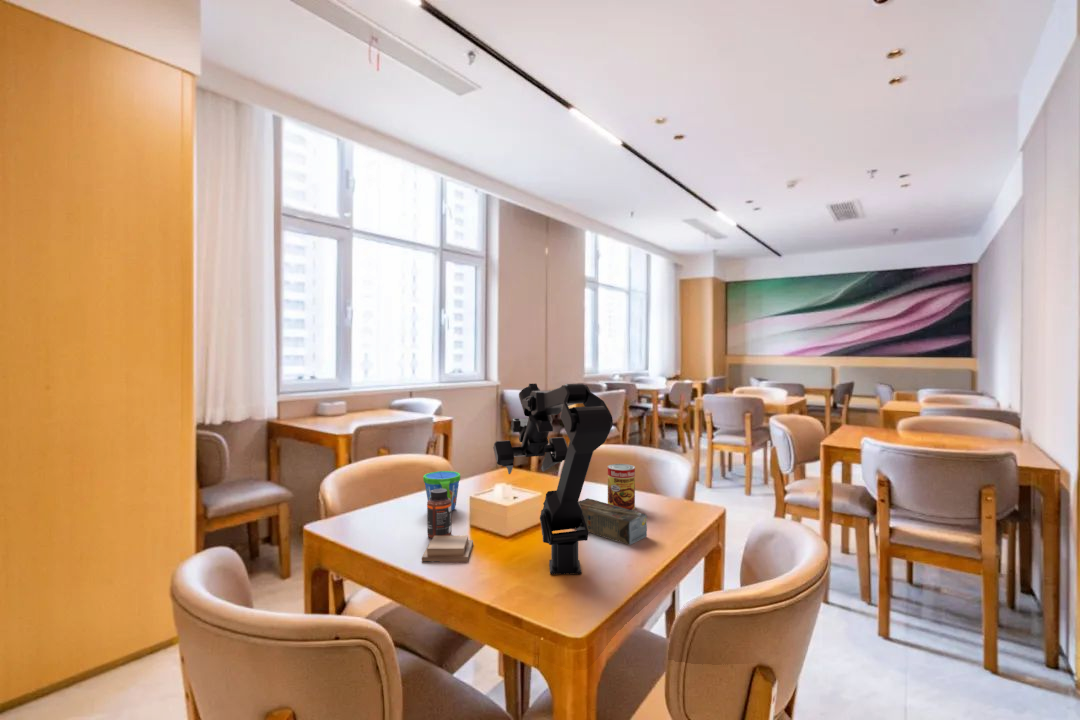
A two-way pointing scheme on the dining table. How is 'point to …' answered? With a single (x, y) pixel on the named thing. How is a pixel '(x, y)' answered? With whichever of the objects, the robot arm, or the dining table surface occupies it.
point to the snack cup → (443, 484)
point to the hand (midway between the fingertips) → (525, 471)
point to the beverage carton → (614, 521)
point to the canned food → (621, 485)
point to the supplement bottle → (439, 514)
